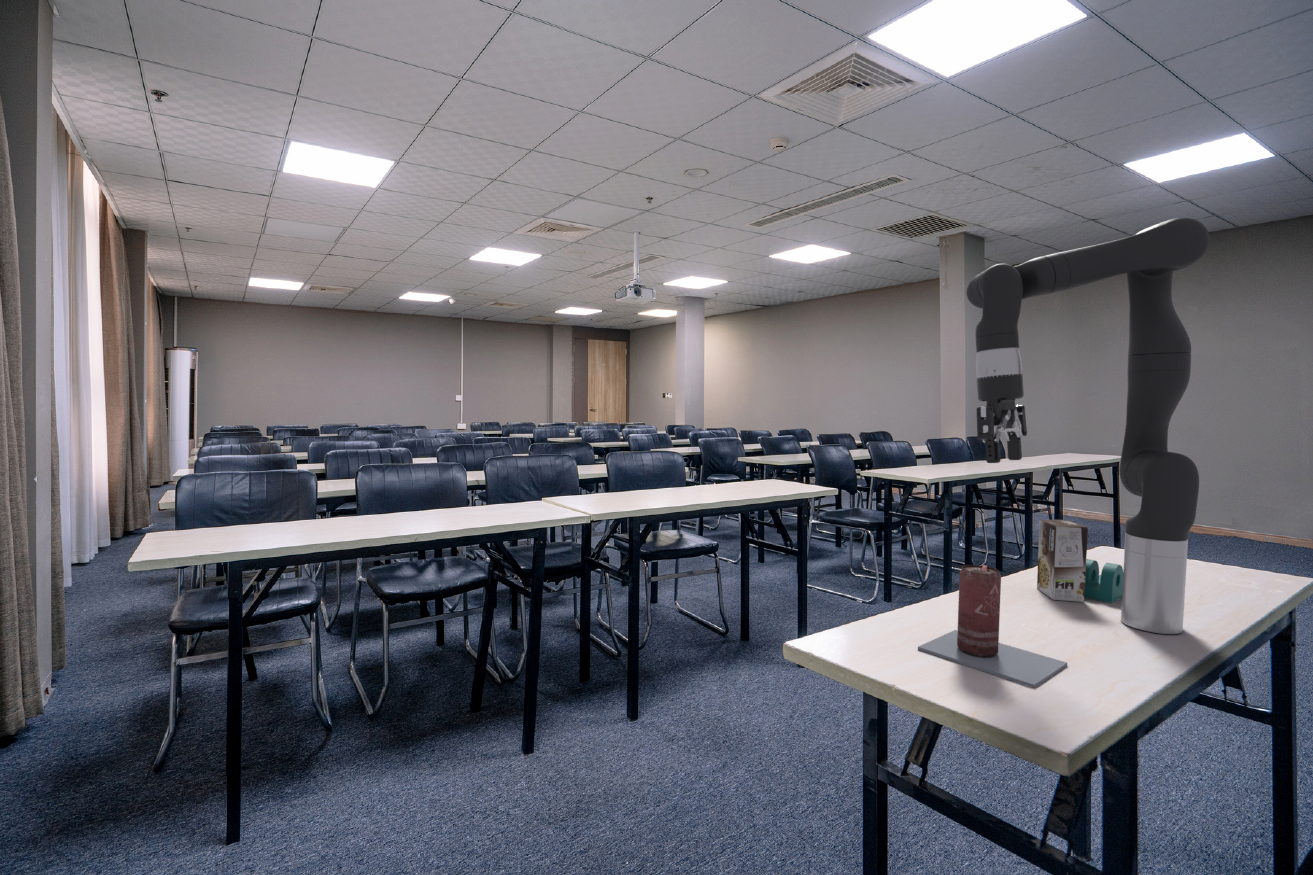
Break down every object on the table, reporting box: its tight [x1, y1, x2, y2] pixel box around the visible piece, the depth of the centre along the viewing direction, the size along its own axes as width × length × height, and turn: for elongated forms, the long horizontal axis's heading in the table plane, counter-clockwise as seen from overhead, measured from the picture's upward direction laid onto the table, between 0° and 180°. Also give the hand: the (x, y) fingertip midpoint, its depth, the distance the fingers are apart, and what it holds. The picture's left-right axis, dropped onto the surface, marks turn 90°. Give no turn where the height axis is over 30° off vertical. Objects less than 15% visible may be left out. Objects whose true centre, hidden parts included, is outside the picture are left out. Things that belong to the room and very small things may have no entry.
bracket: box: [1084, 558, 1124, 604], centre depth 140 cm, size 18×7×8 cm, turn 128°
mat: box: [917, 629, 1068, 689], centre depth 103 cm, size 13×18×1 cm
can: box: [957, 564, 1002, 658], centre depth 104 cm, size 6×6×14 cm
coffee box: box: [1036, 519, 1089, 603], centre depth 137 cm, size 9×6×16 cm
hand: (1004, 461), depth 116 cm, fingers open, 8 cm apart
